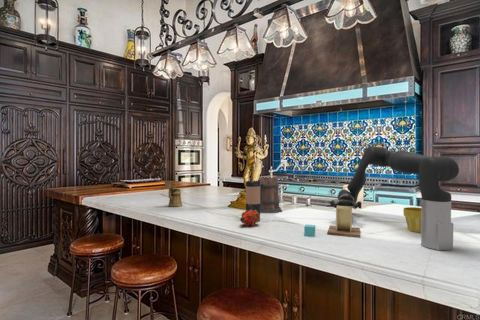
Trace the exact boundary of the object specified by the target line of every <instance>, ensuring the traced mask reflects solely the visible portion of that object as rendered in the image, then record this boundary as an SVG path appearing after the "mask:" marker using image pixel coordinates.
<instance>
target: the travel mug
mask: <svg viewBox="0 0 480 320" xmlns="http://www.w3.org/2000/svg"><path fill="white" fill-rule="evenodd" d="M250 209H252V210H253V211H254V210H257V212H258V213H259V216H260V218H259V220H261V213H260V180H247V181H245V211H246V210H248V211H250Z"/></svg>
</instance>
